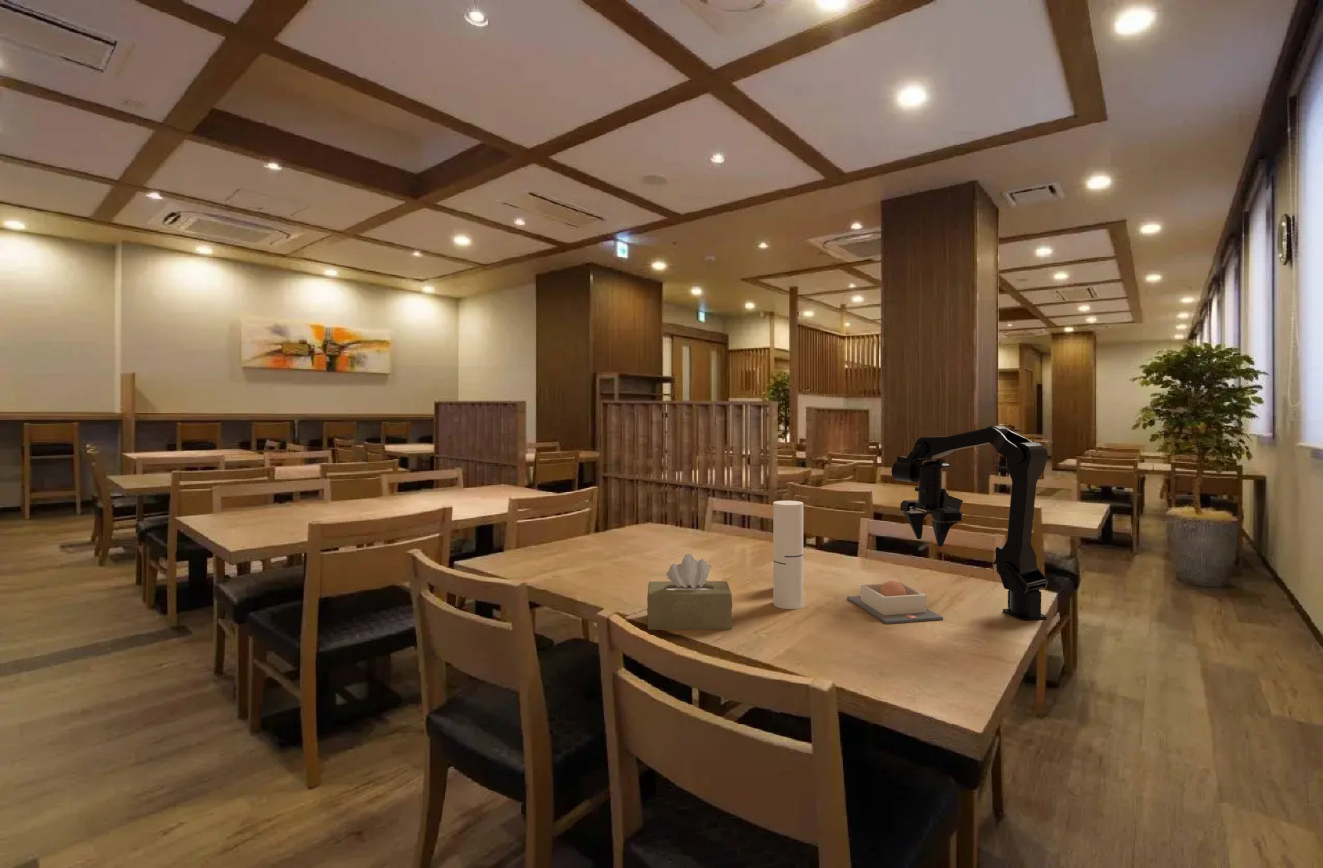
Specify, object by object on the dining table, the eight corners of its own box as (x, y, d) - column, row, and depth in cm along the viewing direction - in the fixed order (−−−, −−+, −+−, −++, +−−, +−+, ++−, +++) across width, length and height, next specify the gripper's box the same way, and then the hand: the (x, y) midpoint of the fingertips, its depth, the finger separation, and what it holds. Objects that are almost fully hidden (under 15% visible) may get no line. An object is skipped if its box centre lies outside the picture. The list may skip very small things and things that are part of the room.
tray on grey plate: (943, 619, 136) (943, 599, 136) (885, 623, 134) (886, 603, 134) (898, 595, 154) (898, 577, 154) (847, 599, 152) (847, 580, 151)
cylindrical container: (803, 610, 144) (803, 505, 142) (773, 608, 145) (773, 504, 144) (802, 600, 150) (802, 500, 150) (773, 599, 152) (773, 500, 151)
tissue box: (646, 630, 131) (645, 558, 131) (647, 615, 141) (647, 548, 140) (733, 630, 131) (732, 558, 131) (728, 615, 141) (728, 547, 140)
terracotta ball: (911, 610, 141) (912, 585, 141) (887, 611, 140) (888, 586, 140) (897, 600, 147) (897, 576, 147) (874, 602, 146) (875, 578, 146)
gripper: (981, 487, 152) (980, 549, 153) (935, 479, 170) (935, 534, 171) (941, 488, 150) (941, 551, 151) (899, 480, 169) (899, 536, 169)
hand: (929, 542), depth 160 cm, fingers open, 9 cm apart
